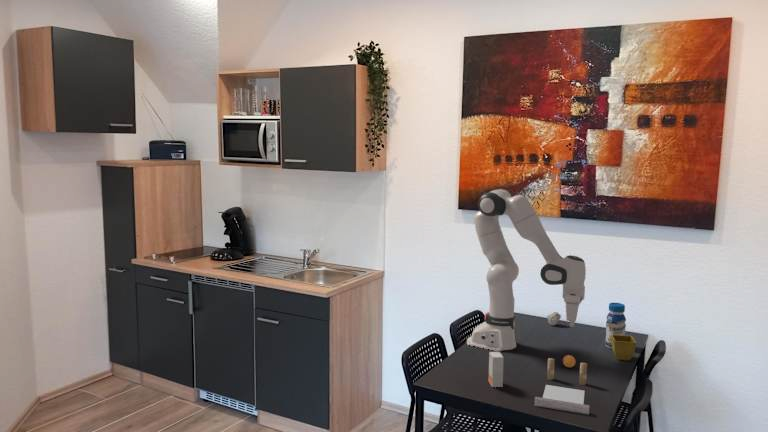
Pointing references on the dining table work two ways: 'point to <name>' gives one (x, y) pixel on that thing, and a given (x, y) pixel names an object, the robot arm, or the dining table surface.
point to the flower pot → (623, 346)
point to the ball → (569, 361)
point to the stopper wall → (562, 405)
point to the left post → (550, 369)
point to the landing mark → (564, 394)
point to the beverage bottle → (615, 322)
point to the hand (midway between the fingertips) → (571, 325)
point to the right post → (583, 373)
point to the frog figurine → (553, 318)
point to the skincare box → (496, 369)
